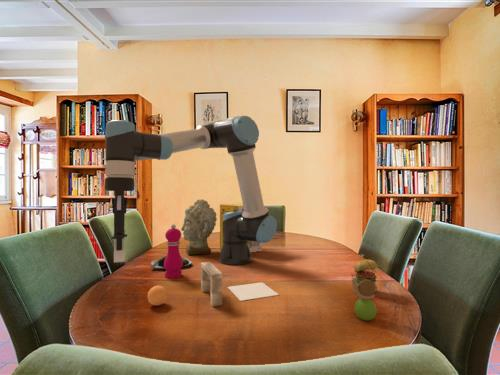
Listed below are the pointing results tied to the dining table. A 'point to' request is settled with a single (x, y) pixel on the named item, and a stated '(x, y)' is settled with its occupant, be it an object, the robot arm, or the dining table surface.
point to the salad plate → (160, 264)
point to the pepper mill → (173, 253)
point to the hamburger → (364, 274)
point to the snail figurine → (364, 299)
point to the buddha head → (198, 227)
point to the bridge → (211, 282)
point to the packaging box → (223, 209)
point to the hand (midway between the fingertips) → (119, 261)
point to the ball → (157, 295)
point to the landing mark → (252, 291)
